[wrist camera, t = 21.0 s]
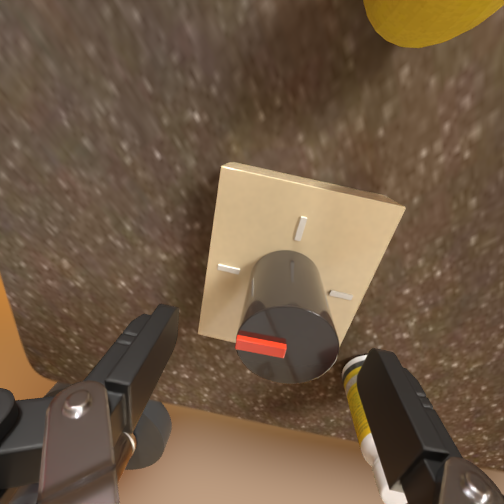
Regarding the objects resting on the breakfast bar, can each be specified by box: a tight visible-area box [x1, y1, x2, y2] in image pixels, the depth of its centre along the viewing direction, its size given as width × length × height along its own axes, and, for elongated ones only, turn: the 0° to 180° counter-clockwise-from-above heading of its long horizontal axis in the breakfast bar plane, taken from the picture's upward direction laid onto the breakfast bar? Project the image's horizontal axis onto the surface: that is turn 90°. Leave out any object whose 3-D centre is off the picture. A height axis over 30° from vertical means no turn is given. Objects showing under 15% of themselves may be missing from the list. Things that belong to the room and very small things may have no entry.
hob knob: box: [235, 250, 339, 384], centre depth 13 cm, size 4×4×6 cm
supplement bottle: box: [342, 355, 407, 504], centre depth 18 cm, size 5×5×8 cm
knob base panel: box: [198, 162, 406, 347], centre depth 17 cm, size 12×10×3 cm
